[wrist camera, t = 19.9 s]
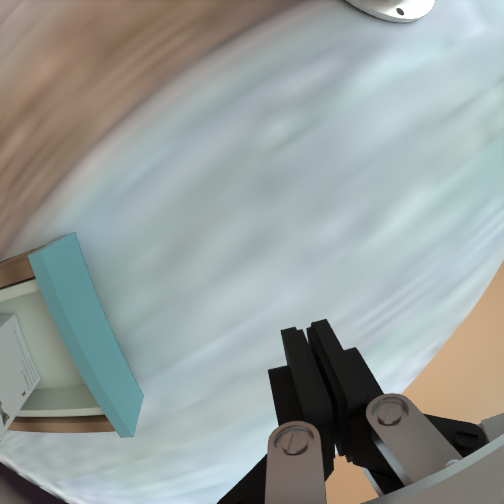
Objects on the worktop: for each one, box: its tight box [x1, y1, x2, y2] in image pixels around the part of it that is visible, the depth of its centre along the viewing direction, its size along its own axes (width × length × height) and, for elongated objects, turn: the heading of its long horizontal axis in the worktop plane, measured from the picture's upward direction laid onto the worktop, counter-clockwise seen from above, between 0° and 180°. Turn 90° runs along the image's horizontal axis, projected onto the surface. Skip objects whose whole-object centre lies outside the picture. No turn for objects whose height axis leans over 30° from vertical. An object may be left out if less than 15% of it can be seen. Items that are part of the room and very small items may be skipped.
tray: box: [0, 232, 144, 437], centre depth 21 cm, size 19×16×5 cm
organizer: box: [0, 245, 116, 433], centre depth 21 cm, size 19×15×6 cm
